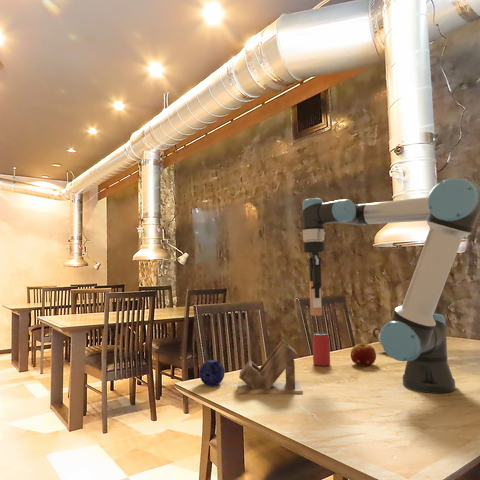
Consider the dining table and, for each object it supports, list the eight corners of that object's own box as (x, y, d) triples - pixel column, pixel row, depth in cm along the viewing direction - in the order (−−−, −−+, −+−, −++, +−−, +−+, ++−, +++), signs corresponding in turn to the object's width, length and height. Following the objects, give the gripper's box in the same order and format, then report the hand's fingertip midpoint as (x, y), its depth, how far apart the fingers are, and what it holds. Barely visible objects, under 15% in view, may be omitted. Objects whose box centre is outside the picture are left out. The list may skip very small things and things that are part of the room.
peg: (324, 315, 143) (323, 281, 144) (314, 315, 141) (313, 281, 142) (317, 314, 147) (316, 281, 148) (308, 314, 145) (307, 281, 146)
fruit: (355, 368, 153) (354, 346, 153) (348, 362, 162) (347, 342, 162) (380, 367, 153) (379, 346, 154) (371, 362, 162) (370, 342, 163)
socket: (237, 399, 123) (236, 345, 124) (238, 389, 134) (238, 339, 135) (303, 399, 122) (301, 344, 124) (299, 388, 133) (297, 338, 135)
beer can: (325, 367, 155) (324, 335, 156) (310, 365, 159) (309, 334, 160) (333, 364, 160) (331, 333, 161) (317, 362, 164) (316, 332, 165)
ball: (206, 380, 139) (206, 358, 140) (227, 381, 137) (226, 359, 138) (196, 386, 132) (196, 363, 132) (218, 388, 130) (218, 364, 130)
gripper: (328, 239, 137) (331, 308, 136) (320, 243, 154) (322, 304, 152) (306, 240, 138) (308, 309, 136) (300, 243, 155) (302, 305, 153)
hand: (316, 306), depth 144 cm, fingers closed on peg, 4 cm apart
